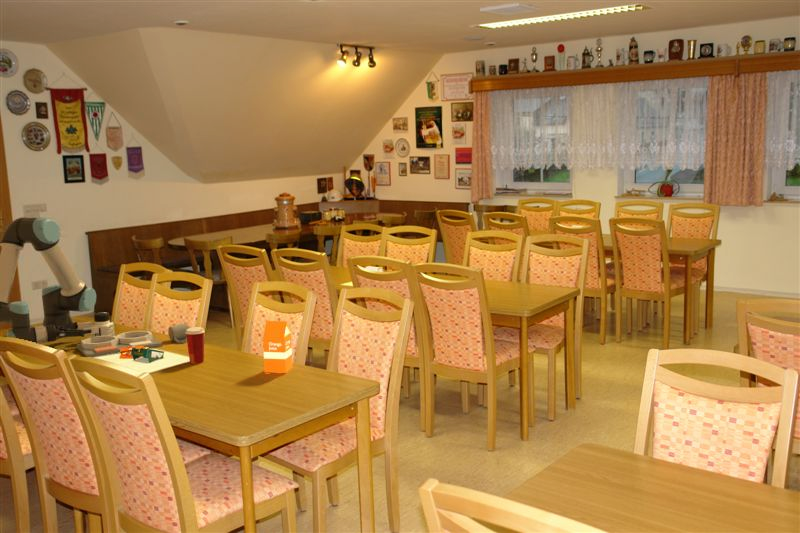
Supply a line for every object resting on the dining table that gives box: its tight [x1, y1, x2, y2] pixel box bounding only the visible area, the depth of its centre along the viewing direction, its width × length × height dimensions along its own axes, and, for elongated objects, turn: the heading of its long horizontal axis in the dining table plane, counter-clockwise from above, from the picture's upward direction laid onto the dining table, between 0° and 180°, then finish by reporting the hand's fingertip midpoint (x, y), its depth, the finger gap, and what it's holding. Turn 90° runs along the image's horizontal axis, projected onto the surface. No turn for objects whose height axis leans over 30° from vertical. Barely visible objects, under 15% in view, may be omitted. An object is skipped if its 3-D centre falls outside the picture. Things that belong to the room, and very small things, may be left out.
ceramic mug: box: [167, 322, 189, 344], centre depth 355 cm, size 11×8×8 cm
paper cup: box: [185, 326, 206, 365], centre depth 317 cm, size 8×8×14 cm
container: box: [91, 311, 116, 337], centre depth 359 cm, size 8×8×13 cm
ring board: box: [76, 330, 163, 358], centre depth 347 cm, size 22×32×4 cm
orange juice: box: [262, 320, 293, 373], centre depth 301 cm, size 8×9×20 cm
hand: (95, 327), depth 357 cm, fingers open, 13 cm apart
